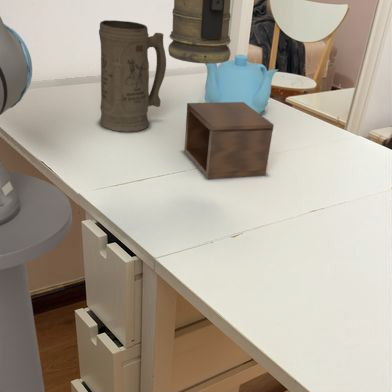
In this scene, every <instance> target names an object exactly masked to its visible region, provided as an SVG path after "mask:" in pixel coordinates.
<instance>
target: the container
mask: <svg viewBox="0 0 392 392" xmlns="http://www.w3.org/2000/svg"><path fill="white" fill-rule="evenodd" d="M202 8H203V0H173V9H172V12H171V13H172V30H171V32H170V34H169V38H170V39H171V40H172V41H171V42H170V43H169V44H168V49H167V51H168V55H169V56H170V57H171V58H173V59H175V60H178V61H182V62H188V63H195V64H205V63H206V64H214V63H216V64H221V63H223V62H226V61H230V58H231V49H230V47H229V46H228V45H229V44H230V43H231V37H230V35H229V34H230V31H229V30H230V22H231V21H230V20H231V17H232V15H231V0H225V1H224V12H223V24H222V35H221V38H202V37H201V24H202Z"/></svg>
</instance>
